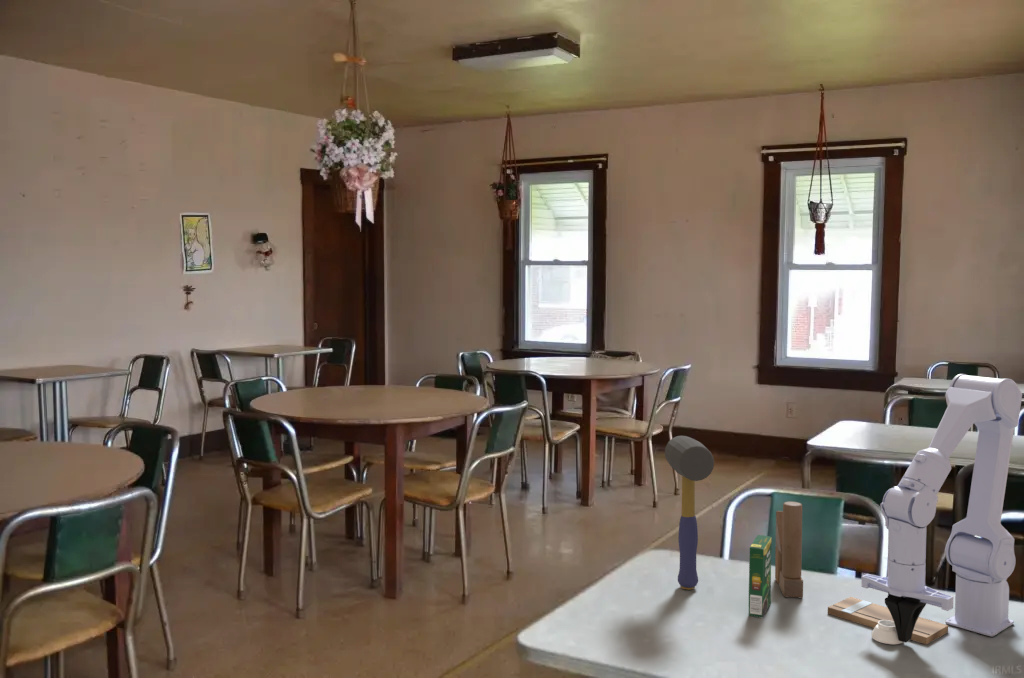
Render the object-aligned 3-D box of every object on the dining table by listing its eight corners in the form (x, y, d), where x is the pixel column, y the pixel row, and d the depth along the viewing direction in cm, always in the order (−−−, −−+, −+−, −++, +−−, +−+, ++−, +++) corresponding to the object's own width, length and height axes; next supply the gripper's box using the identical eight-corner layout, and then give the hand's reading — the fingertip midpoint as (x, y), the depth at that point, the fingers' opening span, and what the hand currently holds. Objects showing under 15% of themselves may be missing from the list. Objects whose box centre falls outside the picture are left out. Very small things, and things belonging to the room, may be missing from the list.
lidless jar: (870, 632, 150) (873, 644, 145) (870, 616, 150) (873, 627, 145) (901, 636, 148) (905, 648, 144) (901, 619, 148) (906, 630, 143)
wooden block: (793, 579, 177) (794, 492, 176) (803, 598, 166) (804, 506, 165) (774, 579, 177) (775, 492, 176) (783, 598, 167) (784, 505, 165)
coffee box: (763, 619, 156) (764, 547, 155) (747, 616, 157) (748, 545, 157) (771, 604, 163) (772, 535, 162) (756, 601, 165) (757, 533, 164)
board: (850, 602, 164) (850, 596, 164) (948, 632, 150) (948, 624, 150) (827, 613, 159) (827, 606, 159) (926, 644, 145) (926, 637, 145)
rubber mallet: (661, 578, 178) (662, 433, 176) (697, 577, 179) (698, 432, 177) (677, 600, 166) (678, 445, 164) (716, 598, 166) (717, 444, 164)
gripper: (852, 554, 147) (851, 632, 147) (940, 576, 135) (938, 661, 136) (873, 546, 151) (872, 622, 152) (960, 566, 140) (957, 648, 141)
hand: (904, 640), depth 144 cm, fingers closed
